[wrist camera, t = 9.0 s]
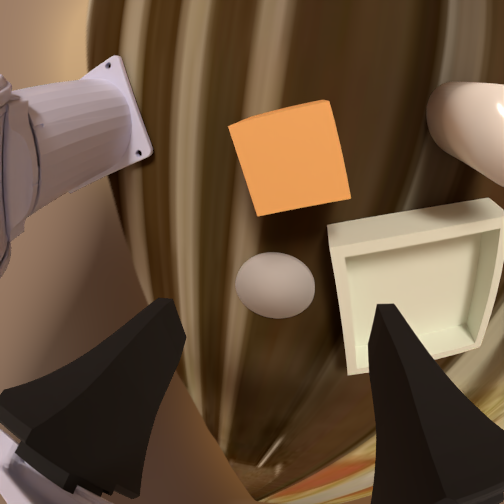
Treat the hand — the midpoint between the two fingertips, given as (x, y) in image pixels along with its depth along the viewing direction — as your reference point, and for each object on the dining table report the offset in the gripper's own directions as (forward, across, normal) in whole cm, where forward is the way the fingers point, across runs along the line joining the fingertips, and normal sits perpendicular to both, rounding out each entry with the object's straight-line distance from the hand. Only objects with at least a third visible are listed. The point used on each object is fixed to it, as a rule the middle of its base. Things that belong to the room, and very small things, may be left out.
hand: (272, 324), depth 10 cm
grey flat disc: (+11, +2, +6) cm, 13 cm away
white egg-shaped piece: (+10, -11, -6) cm, 17 cm away
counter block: (+10, 0, -4) cm, 11 cm away
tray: (+10, -10, +6) cm, 16 cm away
